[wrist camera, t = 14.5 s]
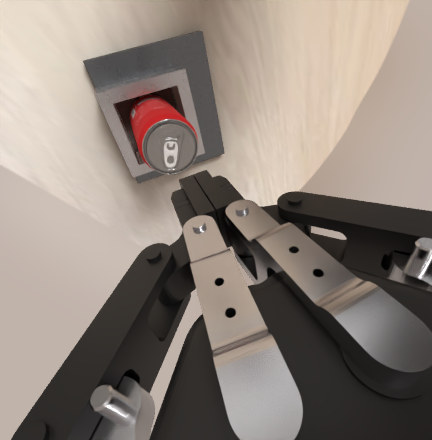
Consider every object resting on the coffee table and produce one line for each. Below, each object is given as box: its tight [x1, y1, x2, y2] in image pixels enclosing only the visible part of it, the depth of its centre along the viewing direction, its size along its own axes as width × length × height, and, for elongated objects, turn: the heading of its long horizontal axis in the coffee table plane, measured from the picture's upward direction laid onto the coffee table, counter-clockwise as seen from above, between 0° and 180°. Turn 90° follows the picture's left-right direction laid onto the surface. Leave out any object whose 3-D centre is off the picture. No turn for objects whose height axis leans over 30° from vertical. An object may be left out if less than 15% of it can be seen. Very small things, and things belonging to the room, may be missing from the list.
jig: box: [83, 31, 225, 183], centre depth 29 cm, size 12×14×4 cm
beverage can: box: [130, 95, 198, 175], centre depth 25 cm, size 5×5×12 cm
